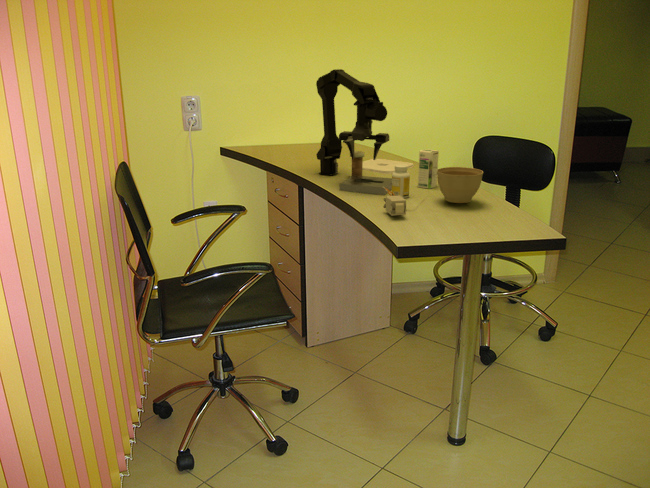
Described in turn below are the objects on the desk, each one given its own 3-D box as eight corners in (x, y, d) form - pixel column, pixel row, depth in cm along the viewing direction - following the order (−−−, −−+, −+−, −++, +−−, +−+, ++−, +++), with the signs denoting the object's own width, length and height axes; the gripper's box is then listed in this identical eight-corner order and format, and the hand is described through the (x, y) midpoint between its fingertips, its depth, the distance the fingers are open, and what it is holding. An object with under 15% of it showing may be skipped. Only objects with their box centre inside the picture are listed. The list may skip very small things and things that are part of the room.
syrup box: (417, 187, 241) (418, 150, 237) (424, 184, 246) (426, 148, 241) (430, 189, 238) (432, 152, 233) (437, 186, 243) (439, 150, 238)
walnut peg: (347, 180, 252) (347, 153, 249) (352, 178, 258) (352, 150, 254) (361, 182, 250) (361, 154, 247) (365, 179, 256) (366, 151, 252)
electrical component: (371, 199, 224) (371, 185, 223) (386, 198, 226) (387, 184, 224) (391, 216, 202) (391, 201, 201) (408, 215, 203) (409, 200, 202)
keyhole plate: (339, 191, 236) (339, 183, 235) (352, 182, 250) (353, 175, 249) (384, 195, 229) (384, 187, 228) (395, 186, 243) (396, 178, 242)
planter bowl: (490, 202, 219) (492, 172, 216) (457, 208, 211) (459, 177, 208) (458, 193, 232) (460, 164, 229) (426, 198, 224) (427, 169, 221)
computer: (390, 178, 260) (390, 171, 259) (347, 171, 272) (347, 165, 271) (415, 169, 276) (416, 163, 275) (374, 163, 289) (374, 158, 288)
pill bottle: (410, 195, 229) (411, 164, 225) (407, 199, 223) (408, 168, 220) (393, 194, 231) (394, 163, 227) (389, 198, 225) (390, 166, 222)
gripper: (333, 120, 228) (333, 161, 233) (382, 122, 221) (380, 164, 226) (343, 116, 238) (343, 156, 243) (390, 118, 231) (389, 159, 236)
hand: (363, 159), depth 237 cm, fingers open, 8 cm apart
